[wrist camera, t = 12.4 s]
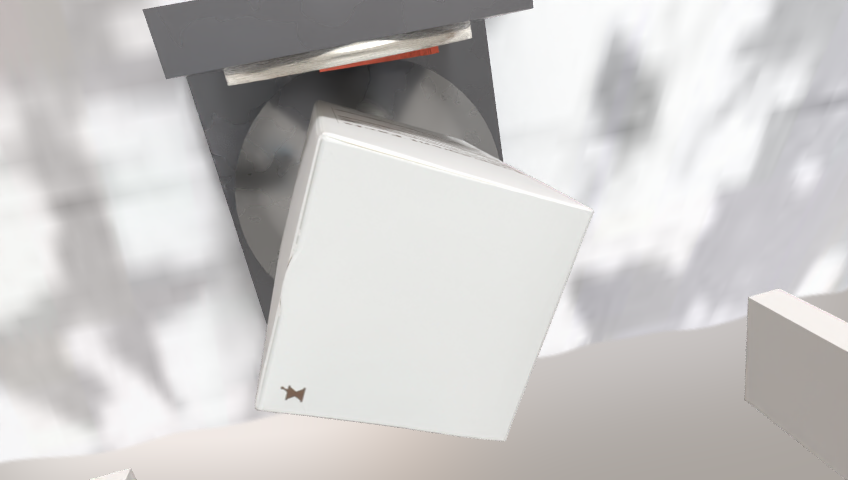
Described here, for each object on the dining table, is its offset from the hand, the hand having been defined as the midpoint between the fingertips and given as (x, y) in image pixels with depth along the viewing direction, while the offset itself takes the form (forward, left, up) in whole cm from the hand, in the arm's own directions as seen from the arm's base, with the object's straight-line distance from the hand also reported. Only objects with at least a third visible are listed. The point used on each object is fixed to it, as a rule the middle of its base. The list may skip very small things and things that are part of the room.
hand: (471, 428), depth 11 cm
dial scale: (0, +1, -24) cm, 24 cm away
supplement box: (0, 0, -21) cm, 21 cm away
